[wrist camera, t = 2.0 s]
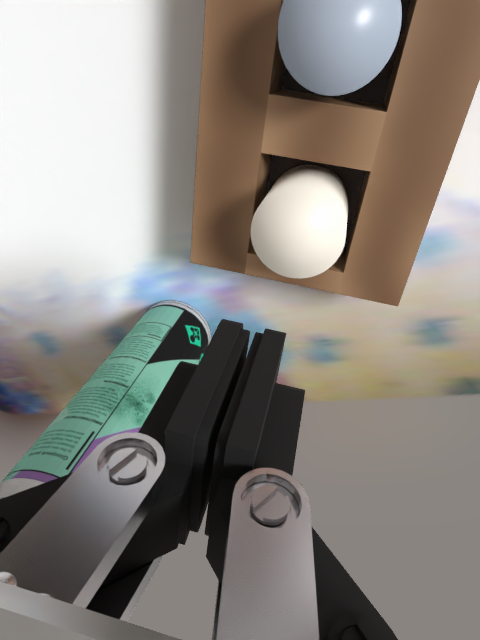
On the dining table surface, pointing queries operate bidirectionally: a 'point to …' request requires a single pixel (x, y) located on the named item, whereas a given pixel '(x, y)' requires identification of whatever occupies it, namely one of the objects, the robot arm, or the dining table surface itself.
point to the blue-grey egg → (337, 41)
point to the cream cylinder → (301, 222)
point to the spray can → (115, 394)
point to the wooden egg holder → (330, 140)
